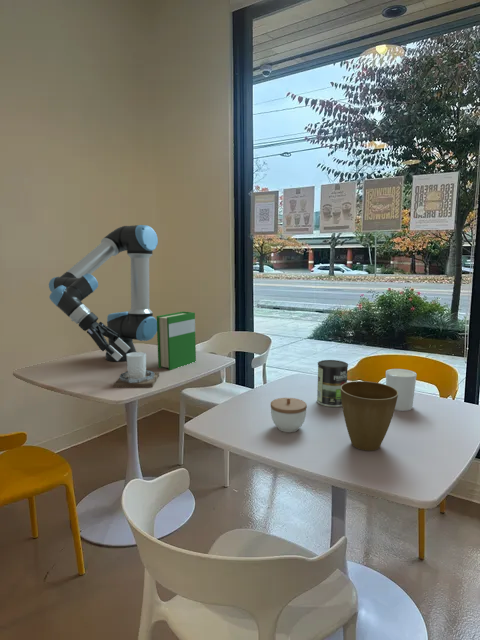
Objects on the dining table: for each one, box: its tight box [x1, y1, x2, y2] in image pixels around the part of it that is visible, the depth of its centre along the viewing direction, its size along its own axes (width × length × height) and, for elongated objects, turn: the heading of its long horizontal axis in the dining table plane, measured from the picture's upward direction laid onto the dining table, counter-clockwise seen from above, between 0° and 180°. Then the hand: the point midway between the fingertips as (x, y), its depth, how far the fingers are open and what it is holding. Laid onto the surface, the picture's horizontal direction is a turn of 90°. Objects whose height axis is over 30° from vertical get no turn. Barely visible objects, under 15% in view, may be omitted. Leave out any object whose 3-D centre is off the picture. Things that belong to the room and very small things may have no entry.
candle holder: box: [385, 368, 418, 412], centre depth 146 cm, size 10×10×12 cm
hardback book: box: [156, 311, 197, 371], centre depth 200 cm, size 18×7×24 cm, turn 145°
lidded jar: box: [270, 397, 308, 433], centre depth 129 cm, size 11×11×9 cm
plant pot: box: [340, 380, 398, 452], centre depth 117 cm, size 15×15×16 cm
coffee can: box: [316, 359, 349, 408], centre depth 150 cm, size 10×10×14 cm
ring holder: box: [113, 369, 160, 388], centre depth 176 cm, size 15×15×3 cm
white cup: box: [126, 351, 147, 378], centre depth 175 cm, size 8×8×10 cm
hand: (124, 354), depth 174 cm, fingers open, 13 cm apart
